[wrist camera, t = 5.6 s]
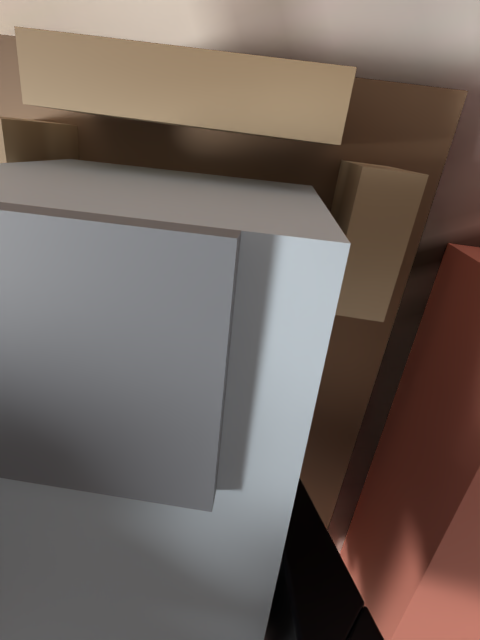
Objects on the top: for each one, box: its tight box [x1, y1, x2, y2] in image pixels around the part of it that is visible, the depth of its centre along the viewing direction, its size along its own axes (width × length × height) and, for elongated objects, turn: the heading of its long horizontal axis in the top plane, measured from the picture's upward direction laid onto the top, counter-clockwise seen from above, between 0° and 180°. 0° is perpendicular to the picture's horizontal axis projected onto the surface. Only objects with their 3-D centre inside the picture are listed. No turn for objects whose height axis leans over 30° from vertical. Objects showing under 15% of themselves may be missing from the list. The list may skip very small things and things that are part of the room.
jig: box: [0, 26, 468, 530], centre depth 10 cm, size 16×10×3 cm, turn 173°
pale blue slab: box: [0, 159, 351, 640], centre depth 8 cm, size 12×5×5 cm, turn 175°
